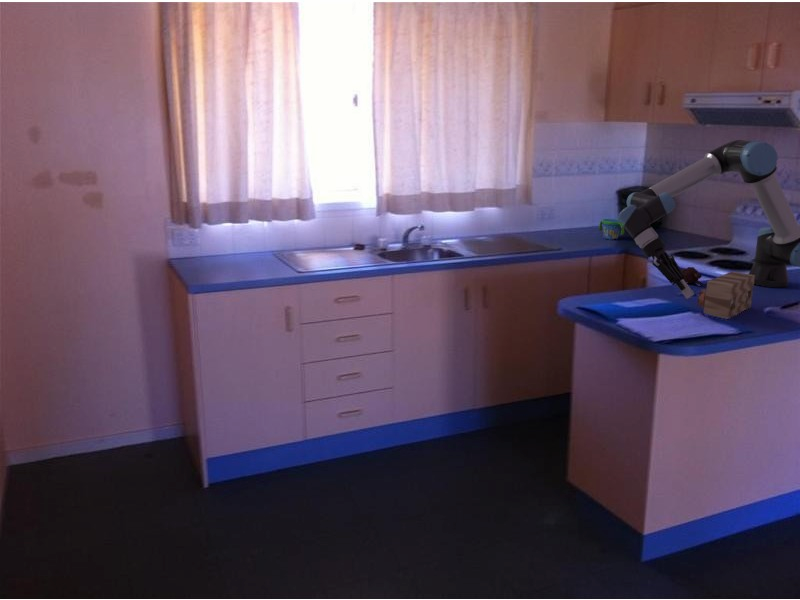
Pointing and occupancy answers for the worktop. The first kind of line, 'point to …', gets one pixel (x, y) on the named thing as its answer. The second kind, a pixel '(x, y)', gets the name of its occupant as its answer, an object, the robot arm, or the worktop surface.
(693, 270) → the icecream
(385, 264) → the worktop surface
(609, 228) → the snack cup
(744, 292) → the block
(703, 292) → the terracotta knob
